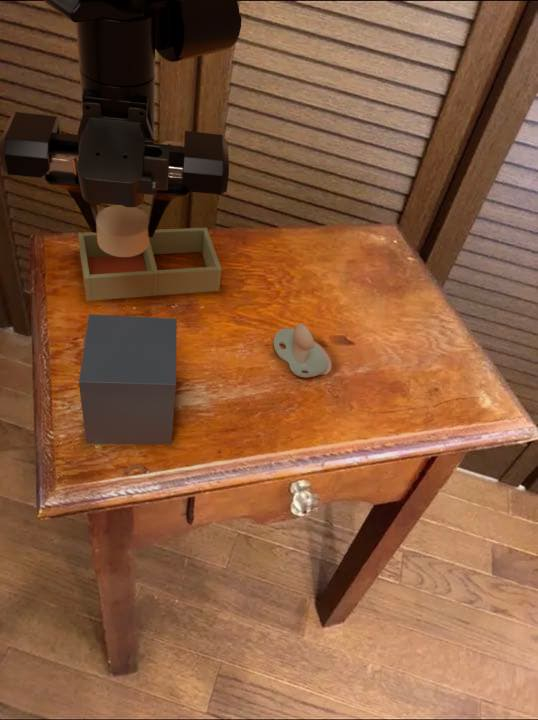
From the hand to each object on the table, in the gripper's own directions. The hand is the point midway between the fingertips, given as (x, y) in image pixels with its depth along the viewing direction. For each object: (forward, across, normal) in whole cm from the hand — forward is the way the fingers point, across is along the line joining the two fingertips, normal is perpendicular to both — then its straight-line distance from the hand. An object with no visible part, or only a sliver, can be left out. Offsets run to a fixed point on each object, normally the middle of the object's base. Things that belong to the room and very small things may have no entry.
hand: (122, 232), depth 57 cm
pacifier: (+14, +20, -4) cm, 25 cm away
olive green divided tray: (+13, +2, +9) cm, 16 cm away
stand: (+13, +2, -12) cm, 18 cm away
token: (+1, 0, 0) cm, 1 cm away
